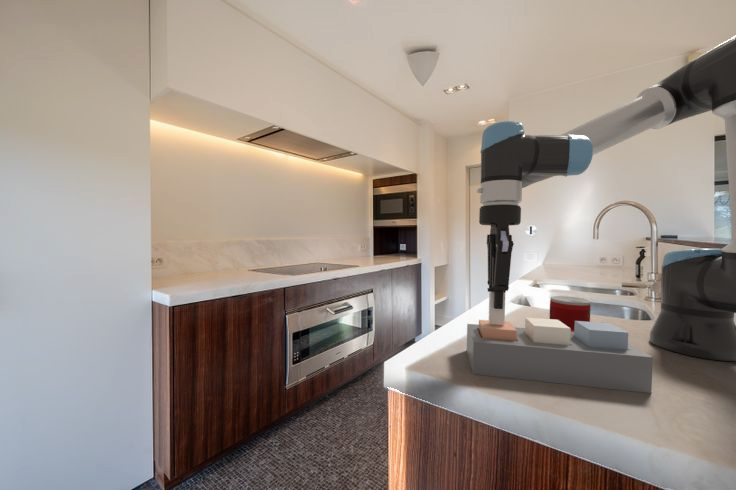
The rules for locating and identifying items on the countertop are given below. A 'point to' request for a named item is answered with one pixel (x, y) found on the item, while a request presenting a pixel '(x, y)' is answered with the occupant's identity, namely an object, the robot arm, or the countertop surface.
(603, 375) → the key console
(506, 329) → the terracotta key
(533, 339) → the ivory key
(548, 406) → the countertop surface
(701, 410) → the countertop surface
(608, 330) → the slate key
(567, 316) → the canned food
